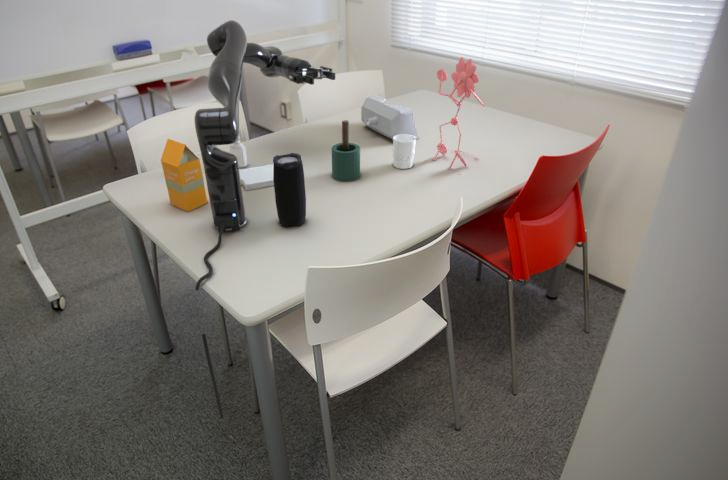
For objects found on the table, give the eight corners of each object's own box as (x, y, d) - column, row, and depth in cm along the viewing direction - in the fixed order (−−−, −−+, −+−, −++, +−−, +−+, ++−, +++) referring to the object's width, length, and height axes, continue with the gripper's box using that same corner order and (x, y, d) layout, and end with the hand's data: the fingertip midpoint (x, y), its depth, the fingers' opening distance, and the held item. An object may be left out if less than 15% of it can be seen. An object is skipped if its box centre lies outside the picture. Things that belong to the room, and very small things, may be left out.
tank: (351, 128, 213) (351, 98, 206) (383, 122, 220) (384, 92, 213) (385, 147, 195) (386, 114, 188) (418, 139, 202) (420, 107, 195)
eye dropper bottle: (237, 169, 180) (233, 136, 173) (230, 164, 184) (226, 132, 177) (248, 166, 182) (244, 133, 176) (241, 161, 186) (237, 129, 179)
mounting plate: (281, 167, 181) (280, 162, 179) (291, 182, 170) (291, 176, 169) (230, 176, 175) (230, 171, 174) (239, 191, 165) (238, 186, 164)
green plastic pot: (361, 180, 170) (361, 152, 165) (333, 182, 170) (332, 153, 164) (357, 169, 178) (358, 141, 173) (331, 170, 178) (330, 143, 172)
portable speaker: (302, 212, 153) (298, 149, 142) (310, 226, 145) (307, 162, 134) (274, 216, 151) (268, 153, 140) (281, 231, 143) (275, 166, 132)
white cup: (388, 167, 179) (389, 140, 173) (396, 159, 185) (398, 132, 179) (409, 171, 176) (411, 143, 170) (417, 163, 182) (419, 136, 176)
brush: (351, 175, 172) (351, 122, 162) (341, 175, 172) (340, 123, 162) (350, 170, 175) (350, 119, 165) (340, 171, 175) (339, 119, 165)
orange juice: (190, 195, 164) (178, 134, 153) (207, 202, 159) (196, 140, 148) (170, 204, 159) (156, 142, 148) (187, 212, 154) (174, 149, 143)
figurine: (462, 178, 170) (476, 69, 150) (419, 153, 189) (426, 53, 170) (498, 169, 175) (516, 63, 156) (453, 145, 195) (464, 48, 175)
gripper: (277, 61, 170) (305, 70, 159) (312, 55, 177) (341, 63, 166) (279, 84, 174) (306, 94, 163) (313, 77, 181) (341, 86, 170)
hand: (323, 78), depth 165 cm, fingers open, 8 cm apart
